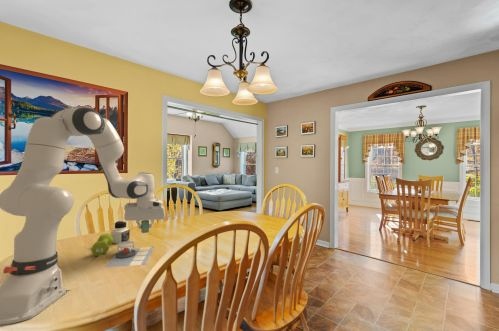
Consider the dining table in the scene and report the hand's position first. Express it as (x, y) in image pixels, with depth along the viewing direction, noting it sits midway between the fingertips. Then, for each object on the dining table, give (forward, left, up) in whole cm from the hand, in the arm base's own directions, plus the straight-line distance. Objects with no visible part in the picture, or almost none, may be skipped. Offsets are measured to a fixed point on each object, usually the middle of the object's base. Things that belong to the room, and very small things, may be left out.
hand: (145, 228), depth 128 cm
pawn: (0, 0, -2) cm, 2 cm away
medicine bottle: (+17, +17, -12) cm, 27 cm away
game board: (-9, +4, -12) cm, 16 cm away
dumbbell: (+3, +21, -13) cm, 25 cm away
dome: (-7, +8, -9) cm, 14 cm away
